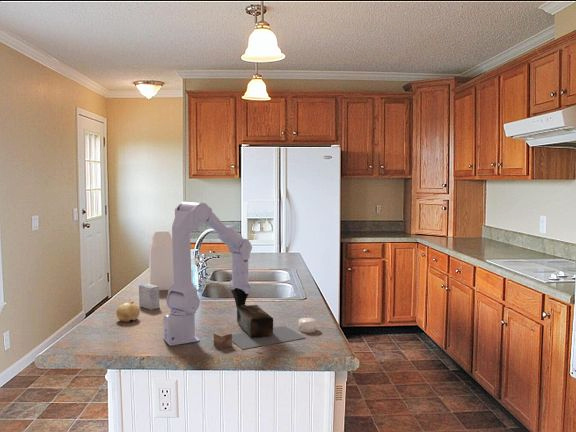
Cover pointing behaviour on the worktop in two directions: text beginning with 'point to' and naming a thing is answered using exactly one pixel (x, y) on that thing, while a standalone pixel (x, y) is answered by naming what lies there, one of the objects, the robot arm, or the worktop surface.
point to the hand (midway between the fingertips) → (240, 309)
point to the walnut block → (222, 339)
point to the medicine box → (149, 296)
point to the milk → (161, 260)
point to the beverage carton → (254, 321)
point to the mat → (265, 338)
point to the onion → (127, 312)
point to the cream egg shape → (307, 325)
